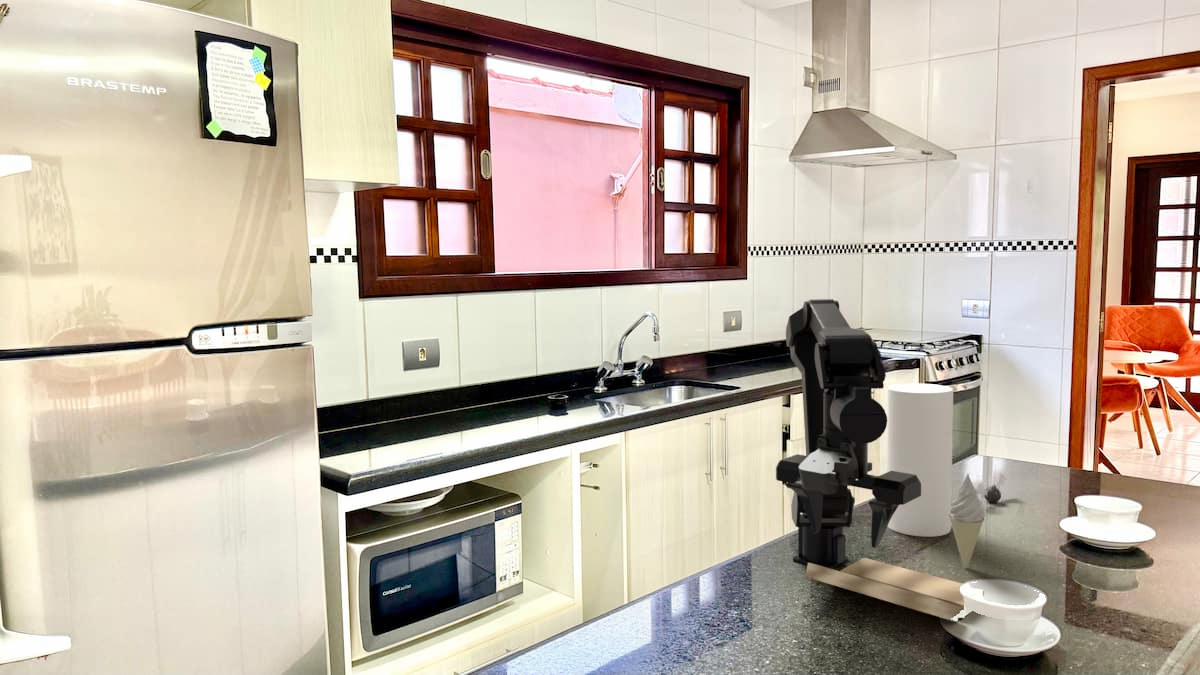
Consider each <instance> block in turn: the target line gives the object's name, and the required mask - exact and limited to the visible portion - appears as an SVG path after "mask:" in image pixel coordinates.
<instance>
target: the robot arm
mask: <svg viewBox="0 0 1200 675" xmlns="http://www.w3.org/2000/svg"><path fill="white" fill-rule="evenodd" d="M785 327H786V329H785V342H786V346H787V347H788V348H789V350H790V351H789V352H790V359H791V360H792V362H793V363H794V365H795V366H796V368H797V370H798V371H799V372H800V374H801V385H802V404H803V405H802V406H803V423H804V425H803V426H804V427H803V428H804V440H805V441H804V443H805V444H804V445H805V455H804V454H794V455H791V456H788V457H786V458H782V459H779V461H778V462H777V464H776V466H775V480H776V481H778V482H784V483H785V487H786V488H787V489H791V490H792V491H793V496H792V499H791V506H790V508H791V509H790V510H791V519H792V522H793V524H794V526H795V528H798V530H797V531H798V532H797V533H798V534H797V536H798V537H797V539H798V540H797V550H798V552H797V554H796V555H794V556H793V557H792V561H794V562H797V563H799V564H800V563H801V564H804V565H808V562H809V563H812V564H816V565H819V566H823V567H826V568H830V569H834V568H836V567H837V566H839V565H841V564H843V563H845V562H846V561H848V560H849V556H848V555H846V535H845V534H844V527H845V528H851V524H853V521H852V520H853V510H854V507H855V502H856V499H855V498H856V497H854V496H853V494H852V491H851V489H850V488H848V487H856V488H860V489H866V490H870V491H871V492H872V493H871V494H872V495H873V497H874V499H871V500H870V501H868V504H869V507H870V509H871V512H872V513H871V514H872V515H871V530H870V532H871V533H870V534H871V535H870V539H871V541H870V542H871V548H874V549H876V548H878V547H879V545H880V543H881V541H882V539H883V537H884V535H885V532H886V530H887V528H888V524H889V522H890V520H891V517H892V516H893V514H894V512H895V511H896V509H897V508H898V506H899V505H904V504H906V503H908V502H910V501H912V500H914V499H916V498H918V497H920V496H921V483H920V481H919V479H918V478H917V476H916V475H913V474H907V473H902V472H896V471H889V472H887V471H886V472H885V473H882V474H880V475H874V474H869V472H872V471H873V462H869V461H868V460H869V459H868V457H869V456H868V455H869V448H868V446H869V444H871V443H873V442H875V441H877V440H878V439H880V438H881V437H882V435H883V434H884V433H885V432H886V429H887V419H888V415H887V413H886V410H885V409H884V407H883V406H882V404H881V403H879V402H878V401H877V400H876V399H874V398H873V397H872V389H875V390H876V389H879V390H880V389H881V390H882V389H884V382H885V381H886V377H887V375H886V370H885V367H884V362H883V357H882V355H881V350H880V349H878V344H877V342H876V341H873V338H872V336H871V335H870V334H869V333H868V332H866V331H864V330H862V329H857V328H852V327H851V325H850V324H849V322H848V321H847V320H846V318H845V317H844V315H843V313H842V311H841V310H840V303H839V301H838V300H834V299H833V298H825V299H822V298H821V299H820V298H819V299H809V300H804V302H803V305H802V307H801V308H800V309H798V310H796V311H795V312H794V313H792V314H791V315H790V316H788V320H787V324H786V326H785Z"/></svg>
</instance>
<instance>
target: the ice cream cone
mask: <svg viewBox="0 0 1200 675" xmlns="http://www.w3.org/2000/svg"><path fill="white" fill-rule="evenodd" d="M975 489H976V488H975V486H974V484H973V482H972V479H971V477H970V475H969V473H966V477H965V479H964V481H963V484H962V485H961V487H960V488H959V489H958V490H957V491H958V494H957V495H956V496H955V497H954V499H953V501H951V510H950V513H951V514H950V515H949V518H950V520H951V529H952V531H953V534H954V538H955V541H956V544H957V550H958V553H959V556H960V559H961V563H962V567H963V569H968V568H969V564H970V561H971V558H972V556H973V553H974V549H975V547H976V544H977V540H978V538H979V535H980V532H981V529H982V526H983V524H984V523H983V522H984V521H985V518H986V514H985V510H986V508H985V504H984V503H983V501H981V499H979V497H978V496H977V491H976V490H975Z"/></svg>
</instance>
